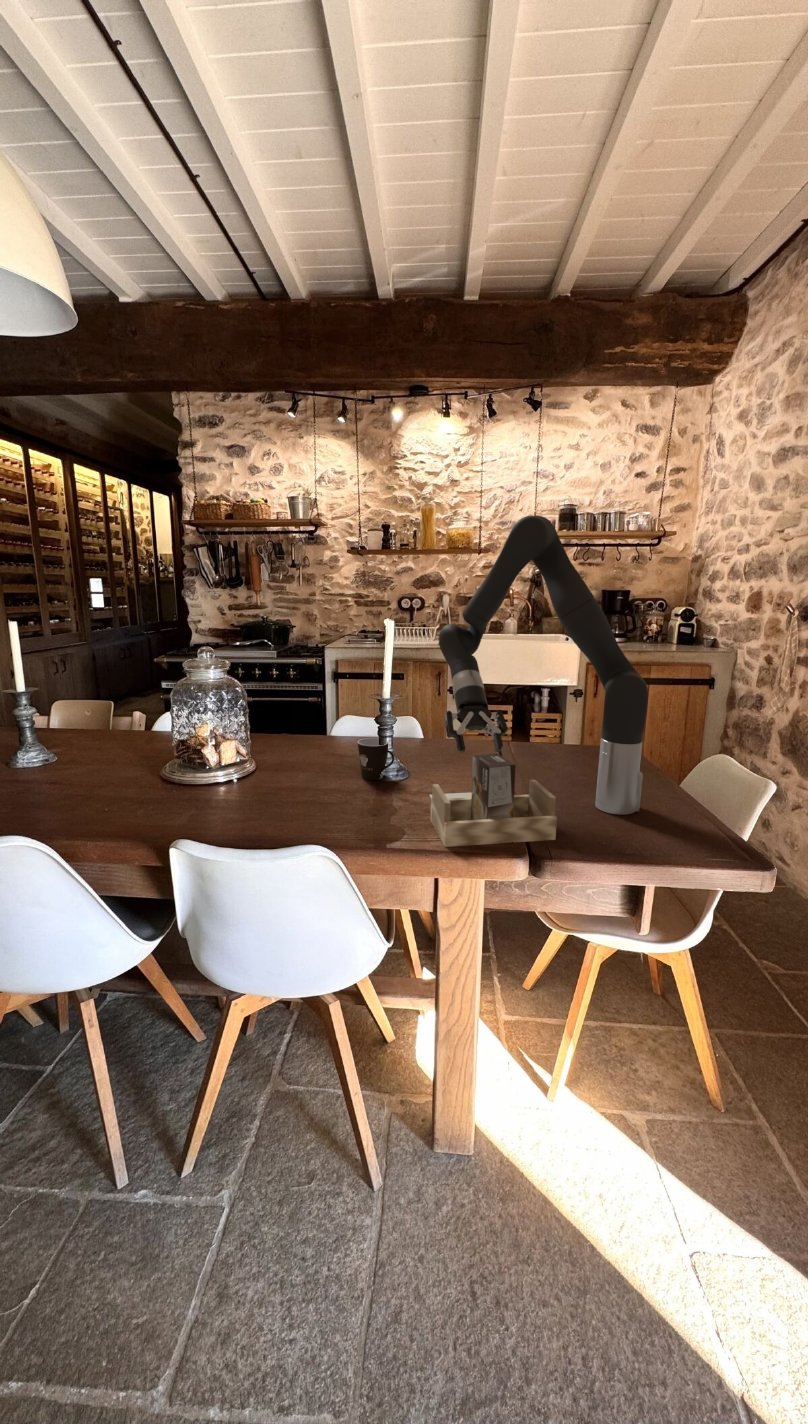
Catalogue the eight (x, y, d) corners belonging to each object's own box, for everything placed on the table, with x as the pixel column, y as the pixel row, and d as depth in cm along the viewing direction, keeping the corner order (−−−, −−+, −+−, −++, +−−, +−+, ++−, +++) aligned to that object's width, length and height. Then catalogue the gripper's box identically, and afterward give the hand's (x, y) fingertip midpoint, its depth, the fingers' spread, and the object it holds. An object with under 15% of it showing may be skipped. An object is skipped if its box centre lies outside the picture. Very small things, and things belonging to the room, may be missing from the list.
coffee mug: (353, 773, 165) (353, 739, 163) (382, 770, 168) (383, 736, 166) (366, 786, 155) (366, 750, 152) (396, 783, 158) (397, 747, 155)
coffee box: (513, 836, 125) (517, 764, 122) (486, 840, 123) (489, 767, 120) (494, 820, 134) (497, 752, 130) (468, 823, 132) (471, 754, 128)
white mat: (497, 792, 151) (497, 791, 151) (513, 810, 139) (513, 808, 139) (429, 796, 148) (429, 794, 148) (440, 814, 136) (440, 812, 136)
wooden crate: (530, 814, 137) (532, 777, 135) (555, 839, 124) (558, 799, 122) (430, 820, 133) (431, 782, 131) (445, 846, 120) (446, 805, 118)
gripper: (443, 684, 138) (454, 744, 130) (501, 683, 141) (515, 742, 132) (438, 702, 145) (447, 760, 136) (493, 700, 147) (506, 757, 138)
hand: (481, 751), depth 134 cm, fingers open, 8 cm apart
